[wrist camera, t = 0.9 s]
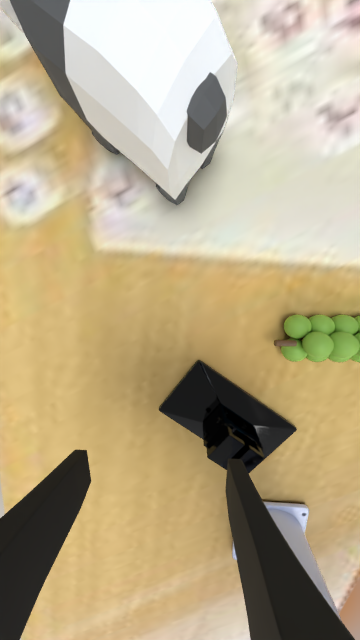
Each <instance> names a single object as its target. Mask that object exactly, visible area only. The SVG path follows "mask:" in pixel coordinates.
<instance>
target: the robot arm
mask: <svg viewBox="0 0 360 640" xmlns="http://www.w3.org/2000/svg"><path fill="white" fill-rule="evenodd" d="M90 483H91V477H90V470H89V463H88V456H87V450H74V451H73V452H72V453H71V454H70V455H69V456H68V457H67V458H66V459H65V460H64V461H63V462H62V463H61V464H59V465H58V466H57V467H56V468H55V469H54V470H53V471H52V472H51V473H50V474H49V475H48V476H47V477H46V478H45V479H44V480H43V481H41V482H40V483H39V484H38V485H37V486H36V487H35V488H34V489H33V490H32V491H31V492H30V493H28V494H27V495H26V496H25V497H24V498H23V499H22V500H21V501H20V502H18V503H17V504H16V505H15V506H14V507H13V508H12V509H10V510H9V511H8V512H7V513H6V514H5V515H4V516H2V517H1V518H0V640H20V637H21V635H22V633H23V630H24V628H25V626H26V623H27V621H28V618H29V616H30V614H31V611H32V609H33V607H34V604H35V602H36V600H37V597H38V595H39V593H40V591H41V588H42V586H43V584H44V582H45V580H46V578H47V576H48V574H49V572H50V570H51V567H52V565H53V563H54V561H55V559H56V557H57V555H58V553H59V551H60V549H61V547H62V545H63V543H64V541H65V539H66V537H67V535H68V533H69V531H70V529H71V527H72V525H73V523H74V521H75V519H76V517H77V515H78V513H79V510H80V508H81V506H82V504H83V501H84V499H85V496H86V493H87V491H88V488H89V485H90ZM226 497H227V506H228V514H229V521H230V527H231V532H232V537H233V548H232V556H233V558H234V559H235V560H237V563H238V568H239V573H240V578H241V583H242V588H243V593H244V599H245V605H246V610H247V616H248V623H249V630H250V637H251V640H355V639H354V638H353V636H352V635H351V634H350V632H349V631H348V630H347V628H346V627H345V626H344V624H343V623H342V621H341V618H340V616H339V614H338V611H337V609H336V607H335V604H334V602H333V600H332V597H331V595H330V593H329V590H328V588H327V586H326V583H325V581H324V579H323V576H322V574H321V572H320V569H319V567H318V565H317V562H316V560H315V558H314V555H313V553H312V551H311V548H310V546H309V544H308V541H307V539H306V537H305V529H306V524H307V519H308V514H309V509H308V507H307V505H305V504H293V503H277V502H263V501H262V499H261V497H260V495H259V493H258V492H257V490H256V488H255V486H254V484H253V482H252V480H251V478H250V476H249V474H248V472H247V470H246V468H245V466H244V463H243V461H242V460H241V459H228V465H227V479H226Z"/></svg>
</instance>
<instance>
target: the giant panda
mask: <svg viewBox="0 0 360 640" xmlns="http://www.w3.org/2000/svg"><path fill="white" fill-rule="evenodd" d="M0 9H1V10H2V11H3V12H4V13H5V14H6V15H7V16H8V17H9V18H10V20H11V21H12V22H13V23H14V24H15V25H16V26H17V27H18V28H19V29H20V30H21V31H22V32H24V33H25V35H26V37H27V39H28V41H29V42H30V44H31V46H32V48H33V49H34V51H35V53H36V55H37V56H38V58H39V60H40V61H41V63H42V65H43V67H44V68H45V70H46V72H47V74H48V75H49V77H50V79H51V81H52V82H53V84H54V86H55V87H56V89H57V91H58V93H59V94H60V96H61V97H62V98H63V99H64V100H65V101H66V102H67V103H68V104H69V106H70V107H71V108H72V109H73V110H74V111H75V112H76V113H77V114H78V116H79V117H80V118H81V119H82V120H83V121H84V123H85V124H86V125H87V126H88V127H89V128H90V129H91V130H92V134H93V136H94V137H95V138H96V139H97V141H98V142H99V143H100V144H102V145H103V146H104V147H105V148H106V149H107V150H109V151H111V152H113V153H115V154H118V153H119V152H121V153H122V154H124V155H125V156H126V157H127V158H128V159H129V160H131V161H132V162H133V163H134V164H135V165H137V166H138V167H139V168H140V169H141V170H142V171H143V172H144V173H146V174H147V175H148V176H149V177H150V178H151V179H152V180H153V181H155V182H156V183H157V185H156V187H157V188H158V190H159V191H160V192H161V193H162V194H163V195H164V196H165V197H166V198H167V199H168V200H169V201H171V202H172V203H174V204H176V205H178V204H179V203H181V202H182V201H183V200H184V198H185V195H186V192H187V185H188V183H189V181H190V179H191V178H192V177H193V175H194V174H195V173H196V172H197V170H198V169H199V168H202V169H203V168H204V167H206V166H207V165H208V164H209V163H210V161H211V159H212V156H213V153H214V151H215V148H216V146H217V144H218V141H219V139H220V137H221V135H222V133H223V131H224V128H225V125H226V123H227V119H228V116H229V113H230V110H231V106H232V103H233V100H234V92H235V84H236V76H237V68H238V63H237V60H236V58H235V56H234V53H233V51H232V48H231V46H230V43H229V41H228V38H227V36H226V33H225V31H224V28H223V26H222V23H221V21H220V18H219V15H218V13H217V11H216V9H215V8H214V6H213V4H212V2H211V0H0Z"/></svg>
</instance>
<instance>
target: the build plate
mask: <svg viewBox="0 0 360 640" xmlns="http://www.w3.org/2000/svg"><path fill="white" fill-rule="evenodd" d="M159 411H160V412H162V413H163V414H165V415H167V416H168V417H170V418H171V419H173V420H174V421H176V422H177V423H179V424H180V425H182V426H183V427H185V428H187V429H188V430H190V431H191V432H193V433H194V434H196V435H197V436H199V437H200V438H202V439H203V440H204V446H205V447H207V457H208V458H209V459H210V460H212V461H213V462H215V463H217V464H218V465H220V466H221V467H223V468H224V469H226V470H227V465H228V459H241V460H242V461H243V463H244V466H245V468H246V470H247V472H248V474H249V473H250V472H251V471H252V470H253V469H254V468H255V467H256V466H257V465H259V464H260V463H261V462H262V461H263V460H264V459H265V458H266V457H267V456H268V455H270V454H271V453H272V452H273V451H274V450H275V449H276V448H277V447H278V446H280V445H281V444H282V443H283V442H284V441H285V440H286V439H287V438H288V437H290V436H291V435H292V434H293V433H294V432H295V431H296V430H297V429H296V427H295V426H294V425H293V424H292V423H290V422H289V421H287V420H286V419H284V418H283V417H281V416H280V415H279V414H277V413H276V412H274V411H273V410H271V409H270V408H269V407H267V406H266V405H264V404H263V403H261V402H260V401H258V400H257V399H256V398H254V397H253V396H251V395H250V394H248V393H247V392H245V391H244V390H243V389H241V388H240V387H238V386H237V385H235V384H234V383H232V382H231V381H230V380H228V379H227V378H225V377H224V376H222V375H221V374H219V373H218V372H217V371H215V370H214V369H212V368H211V367H209V366H208V365H206V364H205V363H204V362H202V361H201V360H197V361H196V363H195V364H194V365H193V366H192V368H191V369H190V370H189V371H188V373H187V374H186V375H185V376H184V377H183V379H182V380H181V381H180V382H179V384H178V385H177V386H176V387H175V388H174V390H173V391H172V392H171V393H170V395H169V396H168V397H167V398H166V399H165V401H164V402H163V403H162V404H161V406H160V407H159Z"/></svg>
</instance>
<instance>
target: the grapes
mask: <svg viewBox="0 0 360 640" xmlns="http://www.w3.org/2000/svg"><path fill="white" fill-rule="evenodd" d="M284 330H285V332H286V333H287V334H288V335H289V336H290V337H293V338H291V339H288V340H275V341H274V345H275V346H281V352H282V354H283V356H284V357H285V358H286V359H288V360H290V361H295V362H297V361H301V360H303V359H304V358H305V357H306V358H307V359H309V360H311V361H314V362H321V361H324V360H326V359H327V358H328V359H330V360H332V361H335V362H345V361H347V360H349V359H351V360H353V361H356V362H360V315H359V316H357V317H355V318H353V317H351V316H349V315H337V316H334V317H332V318H329V317H328V316H325V315H314V316H312V317H310V318H309V319H308V318H307V317H305V316H303V315H292V316H290V317H289V318H287V319H286V321H285V322H284ZM303 337H304V339H303V341H302V340H300V339H296V338H303Z"/></svg>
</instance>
